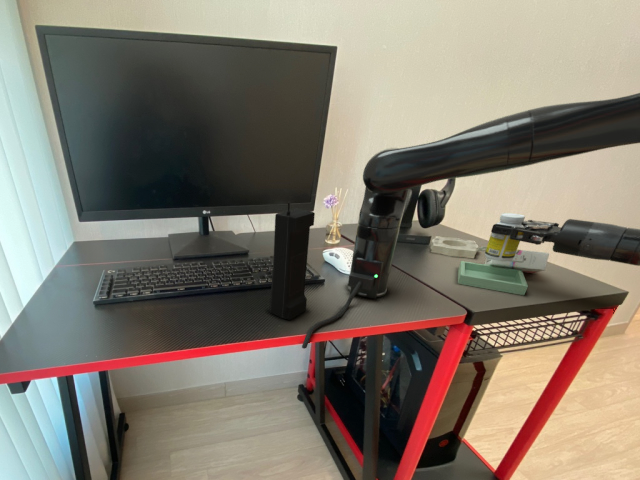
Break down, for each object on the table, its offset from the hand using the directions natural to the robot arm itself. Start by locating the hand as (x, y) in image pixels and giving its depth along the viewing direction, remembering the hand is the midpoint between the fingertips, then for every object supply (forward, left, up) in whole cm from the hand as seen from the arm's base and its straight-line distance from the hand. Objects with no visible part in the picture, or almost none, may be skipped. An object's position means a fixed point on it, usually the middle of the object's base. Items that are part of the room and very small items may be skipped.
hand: (497, 225), depth 82 cm
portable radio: (-43, +38, -15) cm, 59 cm away
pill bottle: (-1, -2, -8) cm, 9 cm away
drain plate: (+23, +7, -15) cm, 28 cm away
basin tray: (-1, -2, -15) cm, 15 cm away
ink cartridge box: (+9, -13, -11) cm, 19 cm away
